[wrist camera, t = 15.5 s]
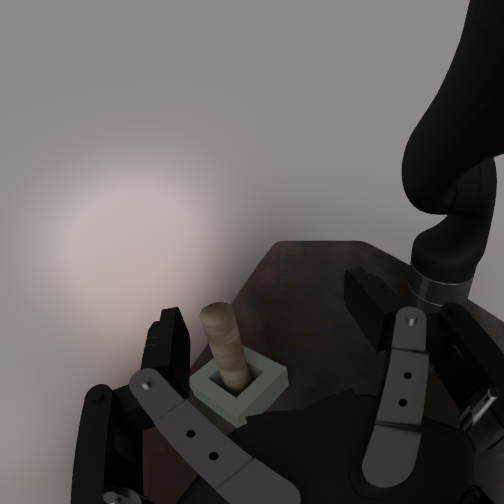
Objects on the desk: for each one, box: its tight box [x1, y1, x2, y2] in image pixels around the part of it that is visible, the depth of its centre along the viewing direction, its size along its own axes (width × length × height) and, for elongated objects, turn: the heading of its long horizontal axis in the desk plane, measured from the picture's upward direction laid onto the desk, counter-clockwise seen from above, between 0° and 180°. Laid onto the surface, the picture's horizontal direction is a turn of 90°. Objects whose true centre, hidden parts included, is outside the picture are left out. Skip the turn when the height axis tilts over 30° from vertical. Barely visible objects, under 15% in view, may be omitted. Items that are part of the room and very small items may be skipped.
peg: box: [200, 302, 252, 398], centre depth 33 cm, size 4×4×16 cm
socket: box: [189, 345, 289, 428], centre depth 36 cm, size 10×10×4 cm
